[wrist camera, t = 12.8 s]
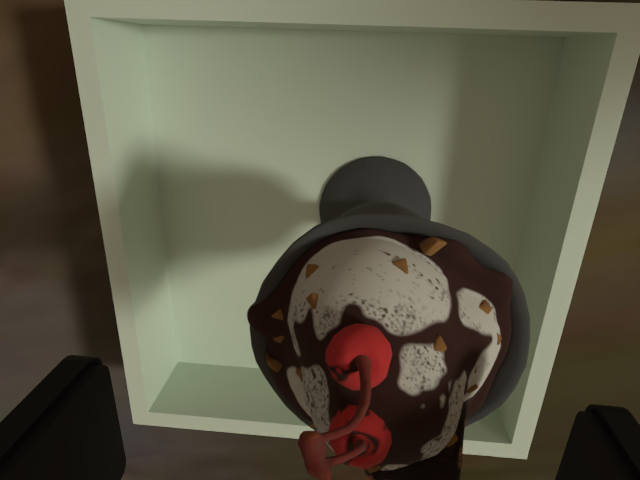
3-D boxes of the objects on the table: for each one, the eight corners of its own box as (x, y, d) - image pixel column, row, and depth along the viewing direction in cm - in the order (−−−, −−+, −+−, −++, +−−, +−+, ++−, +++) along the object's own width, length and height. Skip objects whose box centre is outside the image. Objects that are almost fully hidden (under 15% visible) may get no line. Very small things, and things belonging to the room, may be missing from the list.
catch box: (128, 3, 18) (61, -12, 14) (583, 15, 17) (653, 3, 13) (170, 363, 25) (133, 423, 21) (498, 389, 24) (526, 459, 20)
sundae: (323, 114, 19) (219, 280, 5) (475, 164, 19) (784, 458, 5) (282, 251, 21) (135, 616, 7) (416, 294, 22) (516, 724, 8)
